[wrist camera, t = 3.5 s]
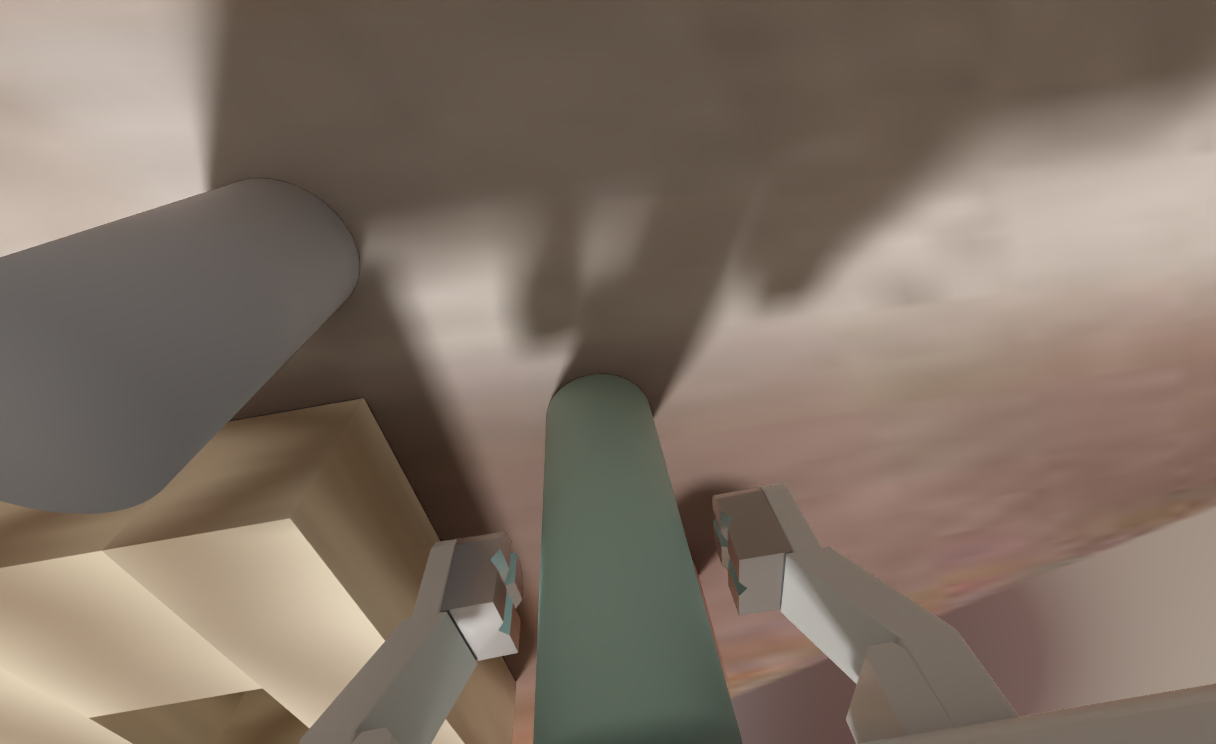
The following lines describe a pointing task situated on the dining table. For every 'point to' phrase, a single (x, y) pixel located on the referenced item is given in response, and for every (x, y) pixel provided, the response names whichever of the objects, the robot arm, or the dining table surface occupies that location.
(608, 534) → the long dowel
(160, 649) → the hole block
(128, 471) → the medium dowel
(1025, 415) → the dining table surface
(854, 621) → the robot arm
